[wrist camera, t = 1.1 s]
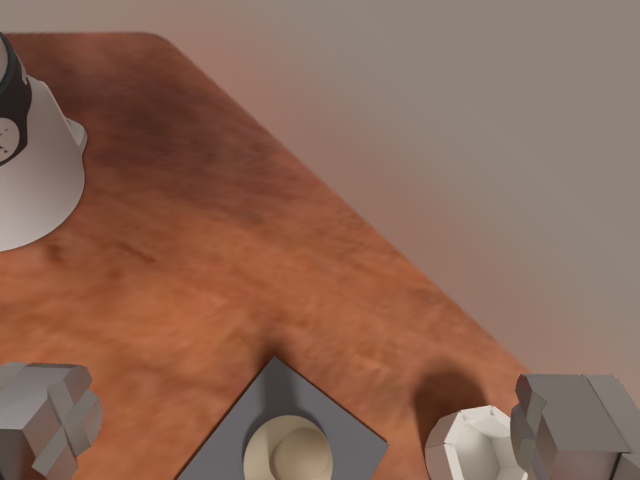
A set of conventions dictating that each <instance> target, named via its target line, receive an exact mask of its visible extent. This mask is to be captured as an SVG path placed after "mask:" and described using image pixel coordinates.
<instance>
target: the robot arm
mask: <svg viewBox="0 0 640 480" xmlns="http://www.w3.org/2000/svg"><path fill="white" fill-rule="evenodd" d="M86 143H87V133H86V131H85V129H84V127H83V126H82V125H81V124H79V123H77V122H75V121H73V120H71V119H69V118H67V117H65V116H64V115H63V113H62V111H61V109H60V107H59V106H58V104H57V102H56V100H55V98H54V96H53V94H52V92H51V91H50V89H49V87H48V86H47V85H46V84H45V83H44V82H43V81H38V80H36V79H35V78H33V77H31V76H29V75H27V74H26V71H25V68H24V66H23V64H22V62H21V60H20V58H19V56H18V55H17V53H16V52H15V50H14V49H13V48H12V46H11V44H10V42H9V41H8V40H7V38H6V37H5V36H4V35H3V34H2V33H1V32H0V251H5V250H9V249H13V248H17V247H20V246H23V245H26V244H28V243H31V242H33V241H35V240H37V239H39V238H41V237H43V236H45V235H46V234H48V233H49V232H51V231H52V230H54V229H55V228H56V227H58V226H59V225H60V224H61V223H62V222H63V221H64V220H65V219H66V218H67V217H68V216H69V215H70V214H71V213H72V211H73V210H74V208H75V207H76V205H77V204H78V202H79V200H80V198H81V195H82V192H83V189H84V183H85V173H84V167H83V162H82V154H83V151H84V148H85V146H86ZM91 382H92V378H91V376H90V373H89V371H88V369H87V367H85V366H82V365H74V364H52V363H19V362H9V363H6V364H4V365H1V366H0V480H70V479H71V478H72V476H73V474H74V473H75V471H76V470H77V468H78V465H77V456H78V455H80V454H81V453H83V452H84V451H85V450H87V449H88V448H90V447H91V445H92V444H93V442H94V440H95V439H96V437H97V435H98V433H99V430H100V426H101V422H102V405H101V402H100V399H99V397H98V396H97V395H96V394H94V393H93V392H92V391H91V390H90V389H89V386H90V384H91ZM515 391H516V394H517V397H518V399H519V402H520V403H518V404H517V405H516V406H515V407H514V408H512V411H511V418H510V437H511V443H512V448H513V452H514V455H515V459H516V462H517V464H518V465H519V466H520V467H521V468H522V469H523V470H524V471H525V472H526V473H527V474H528V476H527V480H640V410H639V409H638V407H637V406H636V404H635V403H634V401H633V400H632V398H631V397H630V395H629V394H628V392H627V391H626V390H625V388H624V387H623V385H622V384H621V382H620V381H619V379H617V378H616V377H615V376H613V375H584V374H583V375H582V374H581V375H560V374H559V375H556V374H520V376H519V378H518V380H517V384H516V389H515Z"/></svg>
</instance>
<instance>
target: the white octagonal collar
mask: <svg viewBox="0 0 640 480" xmlns="http://www.w3.org/2000/svg"><path fill="white" fill-rule="evenodd" d="M424 450H425V463H426V468H427V471H428V474H429V477H430V479H431V480H527V476H528V474H527V473H526V472H525V471H524V470H523V469H522V468H521V467H520V466H519V465H518V464H517V462H516V459H515V455H514V452H513V448H512V443H511V437H510V418H509V417H508V416H507V415H505V414H504V413H503V412H501V411H500V410H498V409H497V408H496V407H494V406H491V405H489V406H483V407H477V408H471V409H465V410H460V411H458V412H455V413H452V414H450V415H447V416H444V417H442V418H441V419H439V420H438V422H437V424H436V425H435V426H434V428H433V429H432V430H431V432H430V434H429V436H428V438H427V441H426V445H425V449H424Z"/></svg>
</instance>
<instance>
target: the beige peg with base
mask: <svg viewBox="0 0 640 480" xmlns="http://www.w3.org/2000/svg"><path fill="white" fill-rule="evenodd" d="M332 468H333V459H332V453H331V448H330V445H329V443H328V441H327V439H326V437H325V435H324V434H323V432H322V431H321V430H320V429H319V428H318V427H317V426H316V425H315V424H314V423H312V422H311V421H309V420H307V419H305V418H302V417H299V416H294V415H285V416H279V417H276V418H273V419H271V420H269V421H267V422H266V423H264V424H263V425H262V426H261V427H260V428H259V429H258V430H257V431H256V432H255V433H254V435H253V436H252V438H251V439H250V441H249V443H248V446H247V448H246V451H245V455H244V462H243V472H244V478H245V480H330V479H331V475H332Z"/></svg>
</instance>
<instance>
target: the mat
mask: <svg viewBox="0 0 640 480" xmlns="http://www.w3.org/2000/svg"><path fill="white" fill-rule="evenodd" d="M285 415H294V416H299V417H302V418H305V419H307V420H309V421H311V422H312V423H314V424H315V425H316V426H317V427H318V428H319V429H320V430H321V431H322V432H323V434H324V435H325V437H326V439H327V441H328V443H329V445H330V448H331V453H332V459H333V468H332V475H331V479H330V480H370V478H371V477H372V475H373V473H374V471H375V470H376V468H377V466H378V464H379V462H380V461H381V459H382V457H383V455H384V454H385V452H386V450H387V448H388V446H389V445H388V444H387V443H386V442H385V441H383V440H382V439H381V438H379V437H378V436H377V435H376V434H374V433H373V432H372V431H370V430H369V429H368V428H367V427H365V426H364V425H363V424H361V423H360V422H359V421H358V420H356V419H355V418H354V417H352V416H351V415H350V414H348V413H347V412H346V411H345V410H343V409H342V408H341V407H339V406H338V405H337V404H336V403H334V402H333V401H332V400H330V399H329V398H328V397H327V396H325V395H324V394H323V393H321V392H320V391H319V390H318V389H316V388H315V387H314V386H312V385H311V384H310V383H309V382H307V381H306V380H305V379H303V378H302V377H301V376H300V375H298V374H297V373H296V372H294V371H293V370H292V369H291V368H289V367H288V366H287V365H285V364H284V363H283V362H282V361H280V360H279V359H278V358H276V357H275V356H273V358H272V359H271V360H270V362H269V363H268V364H267V365H266V367H265V368H264V369H263V370H262V372H261V373H260V374H259V376H258V377H257V378H256V379H255V381H254V382H253V383H252V384H251V386H250V387H249V388H248V390H247V391H246V392H245V393H244V395H243V396H242V397H241V399H240V400H239V401H238V402H237V404H236V405H235V406H234V407H233V409H232V410H231V411H230V413H229V414H228V415H227V416H226V418H225V419H224V420H223V421H222V423H221V424H220V425H219V427H218V428H217V429H216V430H215V432H214V433H213V434H212V435H211V437H210V438H209V439H208V441H207V442H206V443H205V444H204V446H203V447H202V448H201V449H200V451H199V452H198V453H197V455H196V456H195V457H194V458H193V460H192V461H191V462H190V463H189V465H188V466H187V467H186V469H185V470H184V471H183V472H182V474H181V475H180V476H179V477H178V479H177V480H245V478H244V472H243V462H244V455H245V451H246V448H247V446H248V443H249V441H250V439H251V438H252V436H253V435H254V433H255V432H256V431H257V430H258V429H259V428H260V427H261V426H262V425H263V424H264V423H266V422H267V421H269V420H271V419H273V418H276V417H279V416H285Z"/></svg>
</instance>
